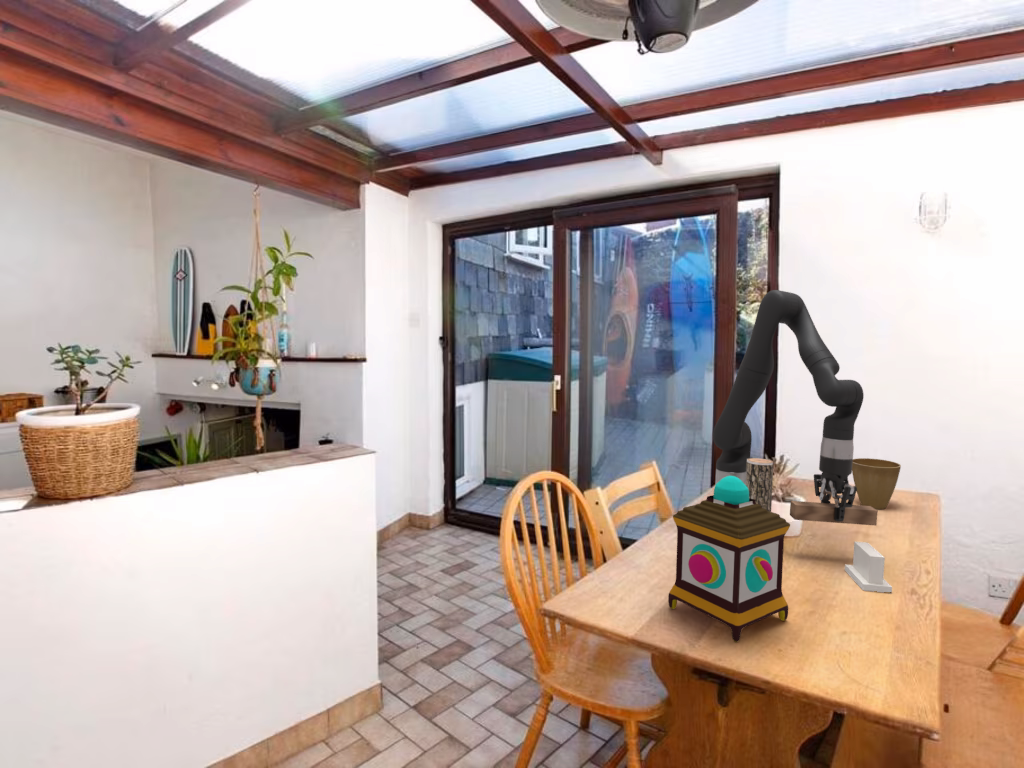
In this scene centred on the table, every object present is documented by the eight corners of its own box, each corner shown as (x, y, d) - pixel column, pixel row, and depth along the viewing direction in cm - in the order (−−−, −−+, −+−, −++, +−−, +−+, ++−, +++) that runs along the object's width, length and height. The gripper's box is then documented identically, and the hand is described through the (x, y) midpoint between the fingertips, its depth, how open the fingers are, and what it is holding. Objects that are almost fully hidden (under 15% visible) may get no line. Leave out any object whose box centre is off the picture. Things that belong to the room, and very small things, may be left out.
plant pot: (850, 498, 208) (852, 456, 207) (898, 505, 200) (901, 461, 198) (846, 507, 196) (849, 463, 195) (897, 515, 188) (900, 469, 186)
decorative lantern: (717, 586, 132) (721, 461, 129) (798, 622, 115) (805, 479, 113) (658, 607, 121) (662, 471, 119) (738, 649, 104) (744, 493, 102)
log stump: (769, 545, 158) (773, 459, 156) (769, 554, 152) (773, 464, 150) (743, 542, 161) (747, 457, 159) (742, 549, 155) (746, 461, 153)
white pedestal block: (862, 590, 130) (864, 557, 129) (844, 570, 142) (846, 539, 141) (891, 593, 129) (893, 559, 128) (870, 572, 140) (872, 541, 140)
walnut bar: (794, 519, 147) (795, 505, 147) (789, 514, 151) (790, 500, 151) (876, 525, 144) (877, 510, 144) (869, 520, 148) (870, 506, 148)
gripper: (869, 461, 140) (864, 526, 141) (831, 449, 154) (826, 509, 155) (842, 461, 139) (837, 527, 140) (805, 449, 153) (801, 509, 154)
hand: (831, 517), depth 148 cm, fingers closed on walnut bar, 4 cm apart
